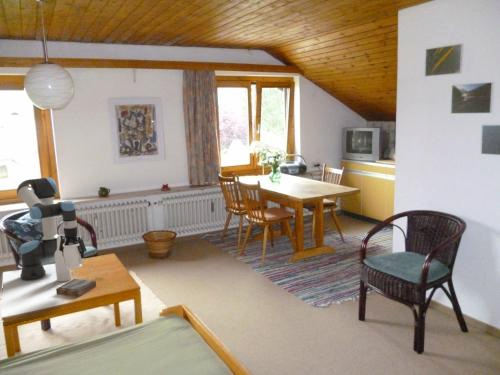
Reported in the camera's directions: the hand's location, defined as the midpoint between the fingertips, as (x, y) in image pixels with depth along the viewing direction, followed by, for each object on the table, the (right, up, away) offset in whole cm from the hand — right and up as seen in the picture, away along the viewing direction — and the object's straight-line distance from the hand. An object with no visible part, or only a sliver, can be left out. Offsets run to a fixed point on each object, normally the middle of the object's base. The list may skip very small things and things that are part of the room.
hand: (74, 262), depth 260 cm
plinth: (0, -18, +3) cm, 18 cm away
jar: (0, -3, 0) cm, 3 cm away
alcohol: (-15, -15, +21) cm, 30 cm away
